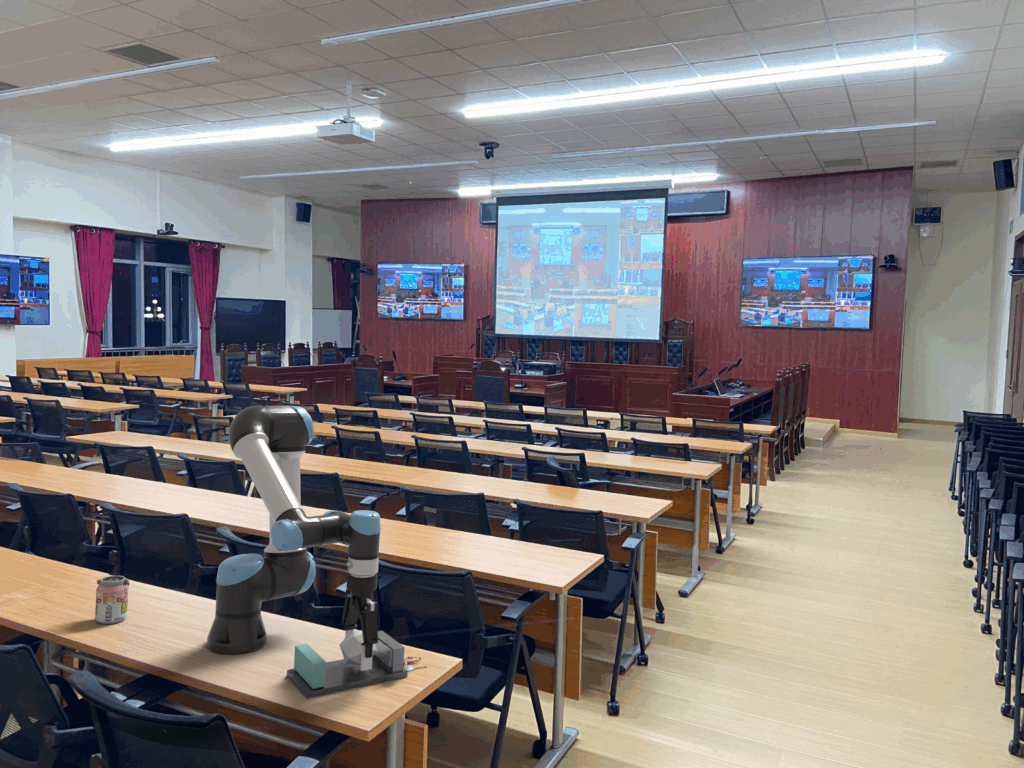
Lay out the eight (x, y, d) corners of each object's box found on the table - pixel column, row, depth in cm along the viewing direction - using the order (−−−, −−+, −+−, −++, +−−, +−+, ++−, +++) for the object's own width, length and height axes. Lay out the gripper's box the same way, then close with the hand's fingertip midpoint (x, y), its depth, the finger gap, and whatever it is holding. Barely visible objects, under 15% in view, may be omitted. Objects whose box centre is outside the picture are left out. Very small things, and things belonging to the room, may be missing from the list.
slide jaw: (293, 668, 183) (295, 645, 183) (307, 665, 185) (308, 643, 185) (312, 688, 172) (314, 664, 172) (326, 685, 174) (328, 661, 174)
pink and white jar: (99, 614, 216) (101, 573, 216) (131, 613, 219) (133, 573, 218) (90, 625, 208) (92, 583, 207) (123, 624, 210) (125, 582, 210)
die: (381, 662, 188) (370, 626, 192) (378, 657, 181) (366, 619, 185) (350, 675, 186) (339, 638, 190) (345, 671, 179) (334, 632, 183)
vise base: (286, 676, 182) (288, 645, 182) (383, 657, 197) (384, 629, 197) (306, 698, 171) (308, 666, 171) (407, 676, 186) (409, 647, 186)
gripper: (331, 564, 192) (326, 649, 192) (367, 587, 174) (361, 681, 174) (358, 561, 196) (353, 644, 197) (395, 583, 178) (390, 675, 179)
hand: (357, 662), depth 186 cm, fingers closed on die, 9 cm apart
